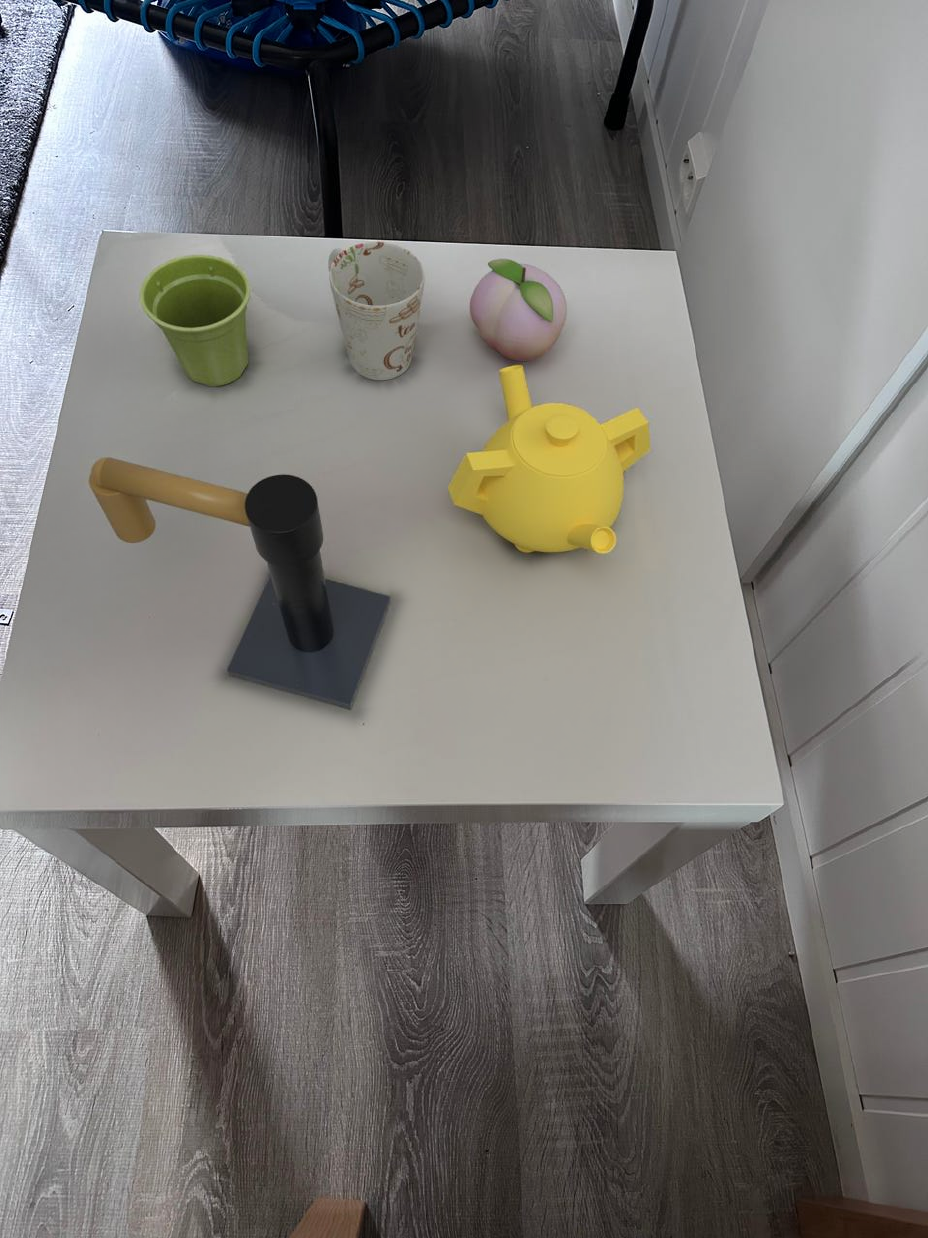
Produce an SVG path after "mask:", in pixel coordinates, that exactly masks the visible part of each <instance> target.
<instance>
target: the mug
mask: <svg viewBox="0 0 928 1238" xmlns="http://www.w3.org/2000/svg"><path fill="white" fill-rule="evenodd" d="M327 265H328V279H329V280H328V281H329V286H330V290H331V293H332V297H333V301H334V305H335V309H336V314H337V317H338V320H339V325H340V329H341V332H342V336H343V339H344V343H345V347H346V351H347V355H348V358H349V362H350V365H351V366H352V368H353V370H354V371H356V373H357V374H359V375H360V376H362V377H364V378H367V379H370V380H373V381H389V380H392V379H395V378H398V377H400V376H401V375H403V374H404V373H405V372H406V371H407V370H408V369H409V367H410V365H411V363H412V359H413V354H414V348H415V340H416V336H417V330H418V324H419V317H420V311H421V306H422V299H423V295H424V287H425V279H426V277H425V275H426V274H425V270H424V267H423V264H422V262H421V261H420V259H419V258H418V257H417V256H416V255H415V254H414V253H412V252H411V251H410V250H409V249H407V248H405V247H403V246H400V245H397V244H395V243H390V242H384V241H369V242H367V241H366V242H362V243H358V244H355V245H352V246H349V247H347V248H346V249H345V250H344V249H342V248H340V247H336V248H334V249H332V251H331V252H330V254H329V256H328V261H327Z"/></svg>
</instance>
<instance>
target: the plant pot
mask: <svg viewBox="0 0 928 1238" xmlns="http://www.w3.org/2000/svg"><path fill="white" fill-rule="evenodd" d="M250 297H251V285H250V280H249V278H248V276H247V275H246V274H245V272H244V270H243V269H242V268H240V266H238V265H236V264H235V263H233V262H232V261H230V260H228V259H226V258H222V257H220V256H216V255H210V254H209V255H208V254H189V255H184V256H180V257H176V258H173V259H170V260H167V261H166V262H163V263H162V264H160V265H158V266H157V267H155V268H154V269H153V270H152V271H151V272H149V274H147V276H146V277H145V279H144V280H143V282H142V284H141V286H140V290H139V302H140V305H141V308H142V310H143V312H144V314H146V315H147V317H148V319H150V320H151V321H152V322H153V323H154V324H156V326H157V327H158V328H159V329H160V330H161V331H162V333H163V334H164V336H165V338H166V340H167V341H168V344H169V345H170V347H171V349H172V351H173V352H174V354H175V356H176V358H177V360H178V362H179V364H180V366H181V368H182V369H183V371H184V374H185V375H186V376H187V377H188V379H190V380H191V381H192V382H195V383H200V384H203V385H206V386H208V387H221V386H225V385H228V384H230V383H233V382H234V381H236V380H238V379H239V378H241V376H242V374H243V373H244V371H245V369H246V367H247V366H248V364H249V354H248V353H249V352H248V340H247V339H248V338H247V322H246V321H247V320H246V312H247V308H248V303H249V301H250Z"/></svg>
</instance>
